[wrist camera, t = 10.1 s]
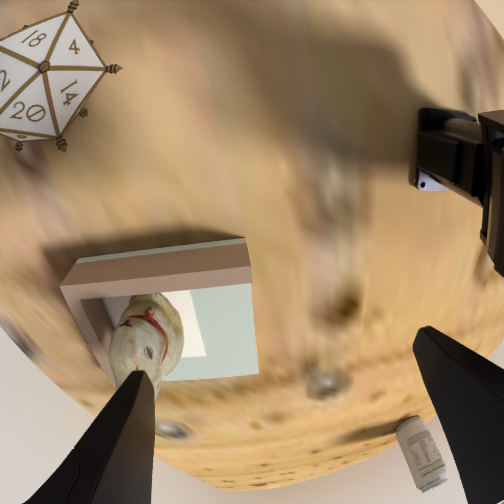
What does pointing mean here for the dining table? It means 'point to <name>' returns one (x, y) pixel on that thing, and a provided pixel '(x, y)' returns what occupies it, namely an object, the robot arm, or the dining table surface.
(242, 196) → the dining table surface
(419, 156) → the robot arm
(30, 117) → the game die
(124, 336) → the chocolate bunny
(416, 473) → the energy drink can
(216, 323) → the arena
